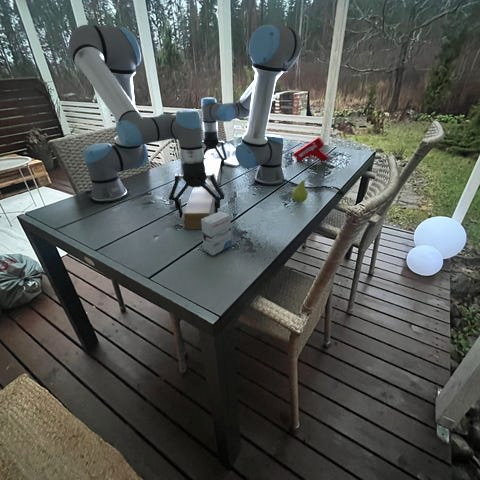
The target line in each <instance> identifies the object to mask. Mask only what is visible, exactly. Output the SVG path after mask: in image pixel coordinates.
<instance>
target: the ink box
mask: <svg viewBox="0 0 480 480" xmlns="http://www.w3.org/2000/svg"><path fill="white" fill-rule="evenodd" d="M231 222H232V221H231V215H230V214H228V213H227V212H224V211H222V210H220V211H218V212H217V213H215V212H214V213H213V215H210V216H208V217H205V218H203V219H201V225H202V229H201V232H202V233H201V235H202V243H203V251H205V252H206V253H208V254H209V255H211V256H213V257H214V256H215V255H217V254H219V253H221V252H222V251H224V250H226V249H227V248H229V247H231V246H232V226H231V225H232V224H231Z"/></svg>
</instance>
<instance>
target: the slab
mask: <svg viewBox="0 0 480 480" xmlns="http://www.w3.org/2000/svg"><path fill="white" fill-rule="evenodd" d="M204 160H205V161H204V164H205V173H206V175H208V174H211V173H214V175H215V179H216V181H217V183H218V184H219V185H220V181H221V175H222V173H221V159H204ZM205 181H206V182H207V183H208V185H209V186H210V187H211V188H212V189H213V190H214V191H215V192H216V193H217V194H218V192H217V191H216V189H215V187H214V186H213V184H212V182H211V181H210V180H209V179H208V178H207V179H206V180H205ZM214 201H215V199H214V198H213V197H212V196H211V195H210V193H209V192H208V191H207V190H206V189H204V188H203V187H202V186H201V187H193V189H192V192H191V193H190V197H189V199H188V201H187V204H186V207H185V209H184V211H183V217H184V224H185V225H184V226H185V230H202V225H201V219H203V218H205V217H208V216H210V215H213V214H215V203H214Z"/></svg>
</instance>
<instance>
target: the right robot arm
mask: <svg viewBox="0 0 480 480" xmlns="http://www.w3.org/2000/svg"><path fill="white" fill-rule="evenodd" d="M249 39H250V40H249V42H248V54H249V55H250V56H249V58H250V60H251V62H252V68H253V70H254V72H255V73H254V80H253V81H252V82H251V84H250V85H249V86H248V88H247V89H246V90H245V91H244V92H243V94H242V95H241V97H240V98H239V99H238V100H237V101H235V102H226V103H218V102H217V99H216V97H203V98H201V117H202V131H203V140H202V141H203V145H204V146H205V148H204V150H203V152H204V156H205V154H206V152H207V151H208V150H212V149H215V150H216V151H217V153H218V155H219V156H220V158H221V174H222V173H223V172H224V171H223V168H224V167H225V164H224V160H227V155H226V151H225V148H224V145H225V141H224V140H219V131H218V130H219V128H218V121H221V122H224V123H226V122H227V123H229V122H232V121H233V120H236V119H244V118H247V117H248V120H247V124H246V125H247V126H246V132H245V133H244V134H243V135H242V137H241V143H239V144H238V145H237V146H236V147H235V148H236V149H235V156H236V159H237V161H238V163H239V164H240V165H239V166H241V168H243V169H247V170H248V169H254V168H256V167H257V171H256V174H255V176H254V181H255V183H258V184H259V185H262V186H263V185H264V186H279V185H281V184H283V183H284V182H286V183H288V184H290V185H294V186H295V187H297V186H298V184H299V183H297V182H292V181H290V180H287V179H285V175H284V172H283V171H284V170H283V167H282V165H283V154H284V153H283V152H284V137H283V136H281V135H278V134H272V133H271V134H270V133H267V129H268V124H269V119H270V113H271V110H272V109H271V108H272V103H273V98H274V93H275V88H276V83H277V80H278V79H279V78H280V77H281V76H282V75H283V73H288V72H289V70H290V69H291V68H292V67H293V66H294V65H295V63H296V62H297V60H298V58H299V56H300V54H301V52H302V39H301V35H300V33H298V31H297V30H296V29H295V28H294V27H291V26H283V25H275V24H262V25H260V26H258V27H257V28H256V29H255V30H254V32H253V33H252V34H251V37H250V38H249ZM219 146H221V147H222V151H223V154H224V157H223V156H222V154H221V152H220V150H219V149H218V147H219ZM203 160H204V161H205V159H203ZM319 186H321V187H319ZM327 186H328V185H317V186H306V185H305V189H306V190H315V189H323V188H326V189H333V190H337V191H338V192H339V193H340V194H341V195H344V192H343V190H341V188H340V187H338V186H332V185H330V186H331V187H333V188H331V187H327ZM334 188H335V189H334Z"/></svg>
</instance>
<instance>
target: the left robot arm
mask: <svg viewBox="0 0 480 480" xmlns="http://www.w3.org/2000/svg"><path fill="white" fill-rule="evenodd" d="M68 51H69V52H68V53H69V56H70V59H71V61H72V63H73V65H74V66H75V67H76V69H77V70H78V71H79V72H80V73H81V74H82V75H85V77H86V78H87V80H88V81H89V83H90V85H92V87H93V89H94V90H95V92H96V93H97V95H98V96H99V97H100V99H101V100H102V102H103V103H104V105H105V106H106V108H107V109H108V111H109V112H110V114H111V115H112V117H113V118H114V122H115V130H116V131H115V132H116V136H115V137H114V144H113V145H112V144H110V143H109V142H101V143H100V142H99V143H94V144H91V145H89V146H87V147H86V148H84V149H83V151H82V154H83V159H84V163H85V166H86V169H87V172H88V175H89V179H90V181H91V190H85V193H86V194H89V193H90V194H91V199H92V201H93V202H95V203H98V204H109V203H114V202H118V201H121V200H123V199H125V198H126V197H127V196H128V191H127V188H126V187H125V186H124V184H123V182H122V181H121V180H120V175H119V173H120V172H124V171H129V170H132V169H139V168H141V167H144V166H145V165H146V164H147V163H148V160H149V151H148V149H147V144H152V143H158V142H163V141H168V140H176V141H178V142H179V148H180V149H179V151H180V157H181V161H182V162H181V164H182V173H183V174H180V173H178V172H177V173H176V174H175V175H174V183H173V185H172V188H171V191H170V193H169V196H168V200H169V201H173V202H174V205H175V206H174V207H175V210H177V211H178V216H179V219H182V218H183V217H184V211H183V206H182V199H181V196H182V195H183V194H184V193H185V191H186V190H187V189H188V187H190V188H194V187H201V186H202V187H203V188H204V189H206V190H207V191H208V192H209V193H210V195H211V196H212V197H213V198H214V199H215V201H214V203H215V208H214V214H215V213H217V212H219V209H221V201H222V200H225V197H226V195H225V193H224V191H223V189H222V188H221V186H220V183H219V184H218V183H217V181H216V179H215V175H214V173H211V174H208V175H206V173H205V164H204V160H205V159H204V143H203V141H204V140H203V123H202V121H201V114H200V113H201V112H199V111H198V110H196V109H181V110H177V111H176V112H175V114H171V113H162V114H160V115H158V116H150V117H143V116H142V114H141V113H140V112H139V110H138V109H137V107H136V101H135V92H134V81H133V77H134V76H135V74H136V73H137V71H136V70H137V69H136V67H138V66H140V64H141V61H142V55H141V54H142V53H141V49H140V45H139V43H138V39H136V36H135V35H134V33H133V32H132V31H131V30H130V29H128V28H125V27H120V26H112V25H92V24H82V25H79V26H78V27H76V28H75V29H74V30H73V31H72V32H71V34H70V37H69V39H68ZM207 178H208V179H209V180H210V181H211V182H212V184H213V186H214V187H215V189H216V191H217V193H216V192H215V191H214V190H213V189H212V188H211V187H210V186H209V185H208V183H207V182H206V181H205V180H206V179H207ZM182 180H183V181H184V182H185V184H183V186H182V187H181V188H180V190H179V191H178V193H177V194H176V195H175V193H176V191H177V188H178V186H179V183H180V182H181V181H182Z"/></svg>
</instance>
